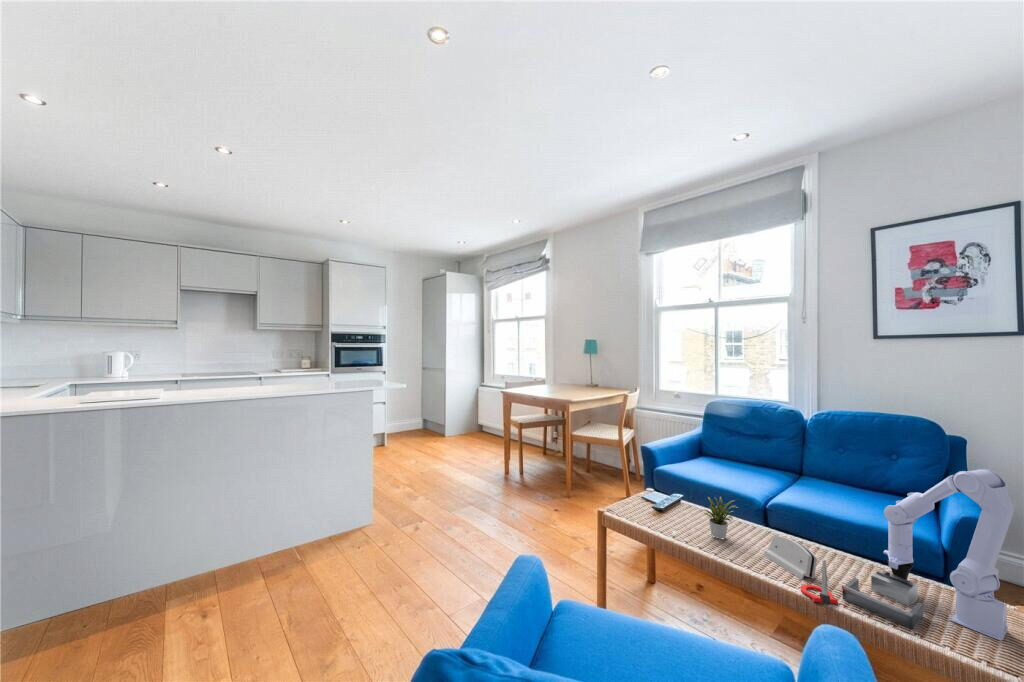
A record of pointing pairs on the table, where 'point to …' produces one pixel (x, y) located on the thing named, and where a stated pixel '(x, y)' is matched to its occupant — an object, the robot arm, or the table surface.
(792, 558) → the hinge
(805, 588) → the red handled scissors
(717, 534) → the house plant
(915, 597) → the block
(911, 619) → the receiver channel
